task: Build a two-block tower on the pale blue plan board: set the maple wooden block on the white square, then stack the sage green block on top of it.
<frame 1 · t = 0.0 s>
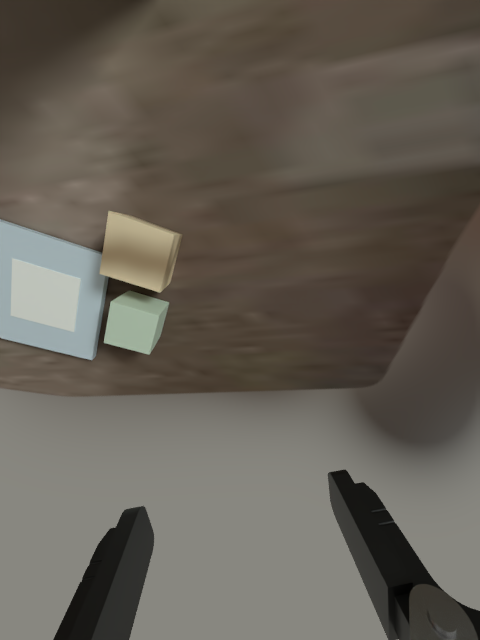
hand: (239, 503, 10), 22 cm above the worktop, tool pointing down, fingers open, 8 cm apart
plan board: (51, 295, 28), on the worktop
maple block: (151, 250, 27), on the worktop
sage block: (145, 314, 29), on the worktop
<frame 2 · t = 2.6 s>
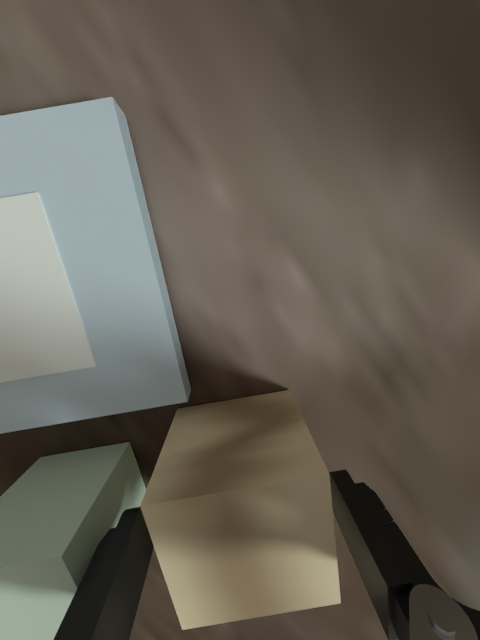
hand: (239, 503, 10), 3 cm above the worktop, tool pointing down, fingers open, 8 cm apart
plan board: (9, 297, 10), on the worktop
maple block: (242, 446, 13), on the worktop
sage block: (99, 485, 13), on the worktop
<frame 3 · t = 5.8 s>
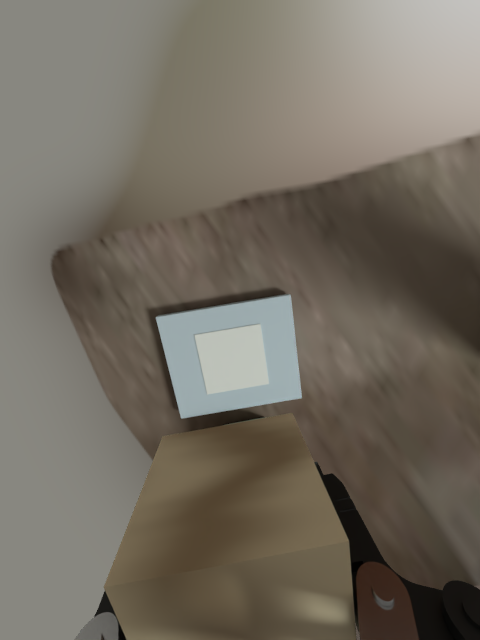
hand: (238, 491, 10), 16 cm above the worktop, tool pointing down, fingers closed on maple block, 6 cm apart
plan board: (232, 356, 25), on the worktop
maple block: (238, 477, 11), point 15 cm above the worktop, touching gripper
when the fingers open (3 cm above the worktop, at t = 8.4 s): maple block stays where it is, resting on plan board.
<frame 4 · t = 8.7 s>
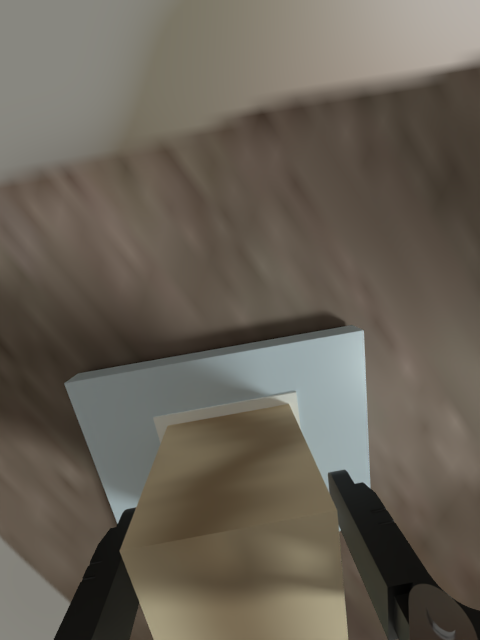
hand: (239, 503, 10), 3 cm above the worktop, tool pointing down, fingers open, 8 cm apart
plan board: (236, 448, 13), on the worktop
maple block: (238, 464, 12), point 1 cm above the worktop, touching plan board
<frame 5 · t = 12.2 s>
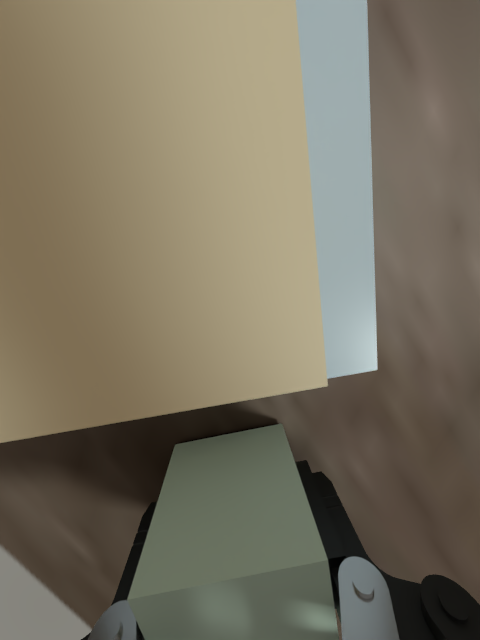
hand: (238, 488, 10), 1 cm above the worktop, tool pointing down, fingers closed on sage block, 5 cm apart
plan board: (170, 243, 8), on the worktop
maple block: (164, 240, 7), point 1 cm above the worktop, touching plan board
sage block: (238, 477, 11), on the worktop, touching gripper
when the fingers open (7 cm above the worktop, at t = 17.7 s): sage block stays where it is, resting on maple block.
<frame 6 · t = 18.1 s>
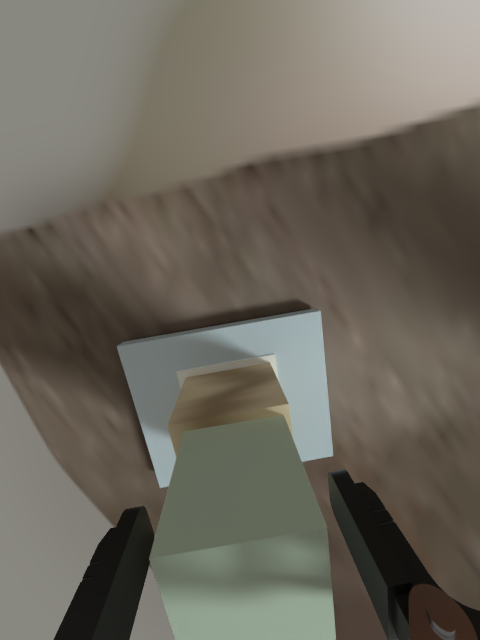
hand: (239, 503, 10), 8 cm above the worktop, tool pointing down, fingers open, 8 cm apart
plan board: (234, 398, 18), on the worktop
maple block: (235, 407, 17), point 1 cm above the worktop, touching plan board, sage block
sage block: (241, 464, 12), point 6 cm above the worktop, touching maple block
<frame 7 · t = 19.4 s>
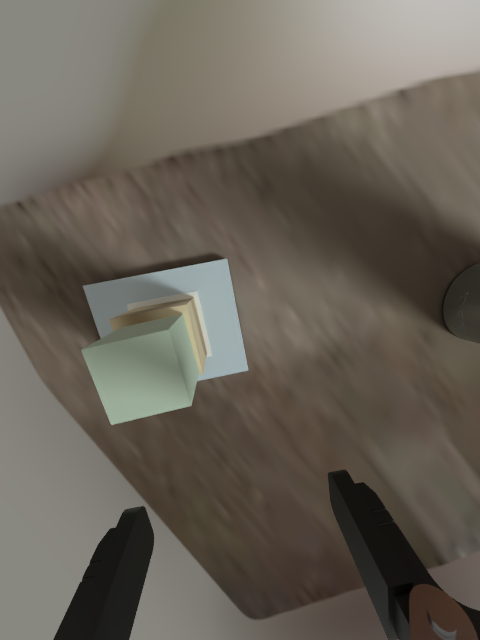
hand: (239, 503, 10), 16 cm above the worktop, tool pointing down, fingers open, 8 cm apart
plan board: (173, 328, 24), on the worktop
maple block: (171, 331, 23), point 1 cm above the worktop, touching plan board, sage block
sage block: (161, 350, 18), point 6 cm above the worktop, touching maple block
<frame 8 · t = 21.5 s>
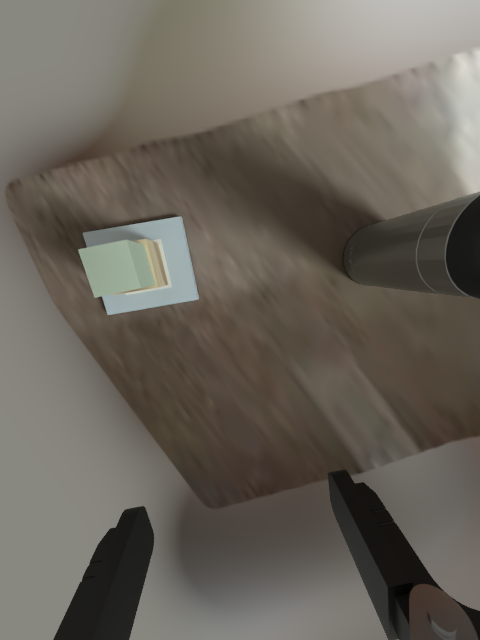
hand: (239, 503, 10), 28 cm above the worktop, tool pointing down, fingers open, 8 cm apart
plan board: (145, 267, 34), on the worktop
maple block: (143, 267, 33), point 1 cm above the worktop, touching plan board, sage block
sage block: (130, 269, 28), point 6 cm above the worktop, touching maple block
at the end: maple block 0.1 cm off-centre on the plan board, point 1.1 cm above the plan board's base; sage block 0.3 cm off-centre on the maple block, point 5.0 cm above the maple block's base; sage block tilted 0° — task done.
